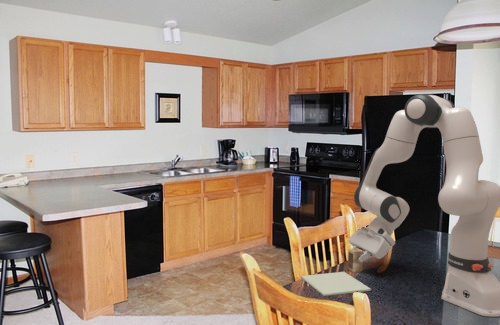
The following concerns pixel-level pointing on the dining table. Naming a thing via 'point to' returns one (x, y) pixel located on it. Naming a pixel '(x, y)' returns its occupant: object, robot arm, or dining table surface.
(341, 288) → the sage mat
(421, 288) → the dining table surface
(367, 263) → the dining table surface
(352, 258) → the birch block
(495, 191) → the robot arm
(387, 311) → the dining table surface
